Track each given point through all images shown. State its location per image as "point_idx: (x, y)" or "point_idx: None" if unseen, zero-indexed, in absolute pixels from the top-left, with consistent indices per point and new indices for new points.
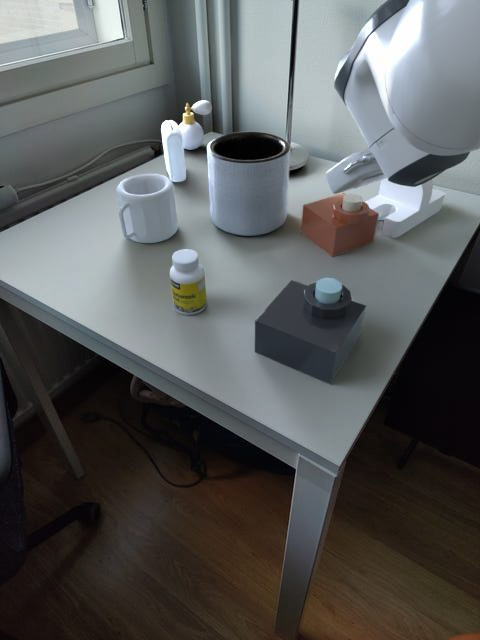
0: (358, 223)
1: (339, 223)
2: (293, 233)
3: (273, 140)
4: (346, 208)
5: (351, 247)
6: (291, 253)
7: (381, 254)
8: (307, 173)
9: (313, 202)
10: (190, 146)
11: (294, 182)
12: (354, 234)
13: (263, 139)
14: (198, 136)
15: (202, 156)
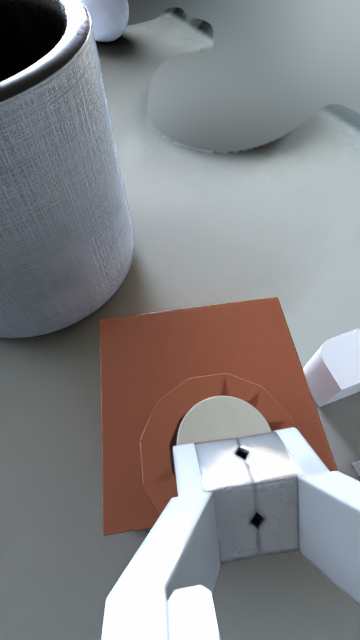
0: None
1: (138, 503)
2: None
3: (63, 28)
4: None
5: None
6: (29, 449)
7: (296, 594)
8: (276, 149)
9: (141, 316)
10: (94, 33)
11: (230, 169)
12: None
13: (50, 20)
14: (107, 12)
15: (108, 60)
